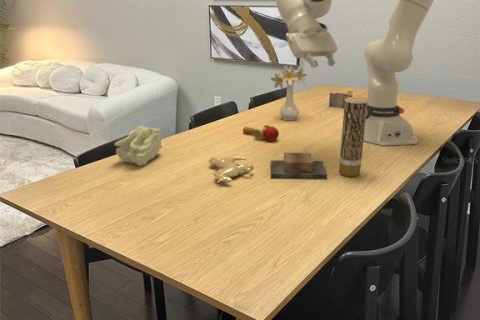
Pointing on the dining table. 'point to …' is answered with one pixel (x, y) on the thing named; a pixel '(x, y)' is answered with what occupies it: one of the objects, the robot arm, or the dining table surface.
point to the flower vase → (289, 90)
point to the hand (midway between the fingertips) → (324, 65)
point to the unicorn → (229, 168)
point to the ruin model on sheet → (338, 99)
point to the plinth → (314, 175)
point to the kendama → (263, 132)
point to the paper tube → (352, 136)
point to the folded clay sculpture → (139, 145)
